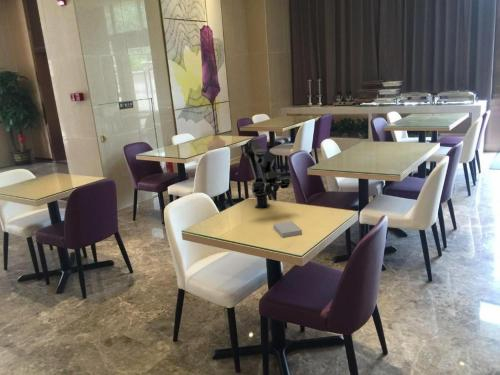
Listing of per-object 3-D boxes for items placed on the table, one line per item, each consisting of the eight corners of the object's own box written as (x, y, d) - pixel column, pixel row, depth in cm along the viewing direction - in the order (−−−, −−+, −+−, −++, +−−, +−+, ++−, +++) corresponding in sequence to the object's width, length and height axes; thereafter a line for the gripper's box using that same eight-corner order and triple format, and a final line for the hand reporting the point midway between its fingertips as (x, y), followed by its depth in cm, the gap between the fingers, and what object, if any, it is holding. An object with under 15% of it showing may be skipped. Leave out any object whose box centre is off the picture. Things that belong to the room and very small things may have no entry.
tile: (273, 224, 198) (282, 233, 186) (291, 220, 200) (301, 230, 188) (273, 228, 199) (282, 238, 187) (291, 225, 201) (302, 235, 189)
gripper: (251, 166, 204) (259, 194, 197) (288, 161, 208) (297, 189, 201) (248, 178, 214) (255, 206, 206) (283, 173, 218) (292, 200, 210)
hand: (275, 200), depth 206 cm, fingers closed
